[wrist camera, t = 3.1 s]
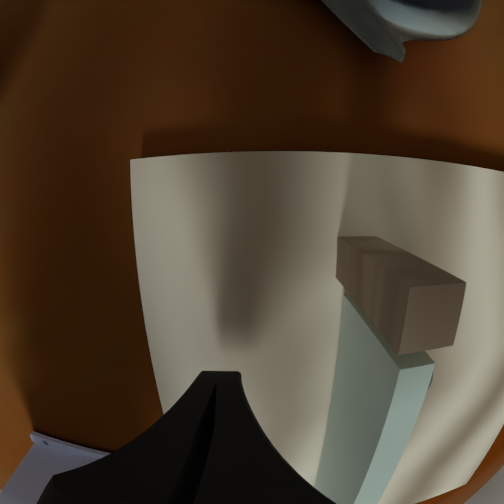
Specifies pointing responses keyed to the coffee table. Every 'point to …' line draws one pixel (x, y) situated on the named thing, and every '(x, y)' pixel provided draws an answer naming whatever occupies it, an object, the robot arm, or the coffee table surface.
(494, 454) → the coffee table surface
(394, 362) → the door
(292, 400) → the door frame board
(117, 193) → the coffee table surface
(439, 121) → the coffee table surface
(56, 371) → the coffee table surface
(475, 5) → the salad plate
